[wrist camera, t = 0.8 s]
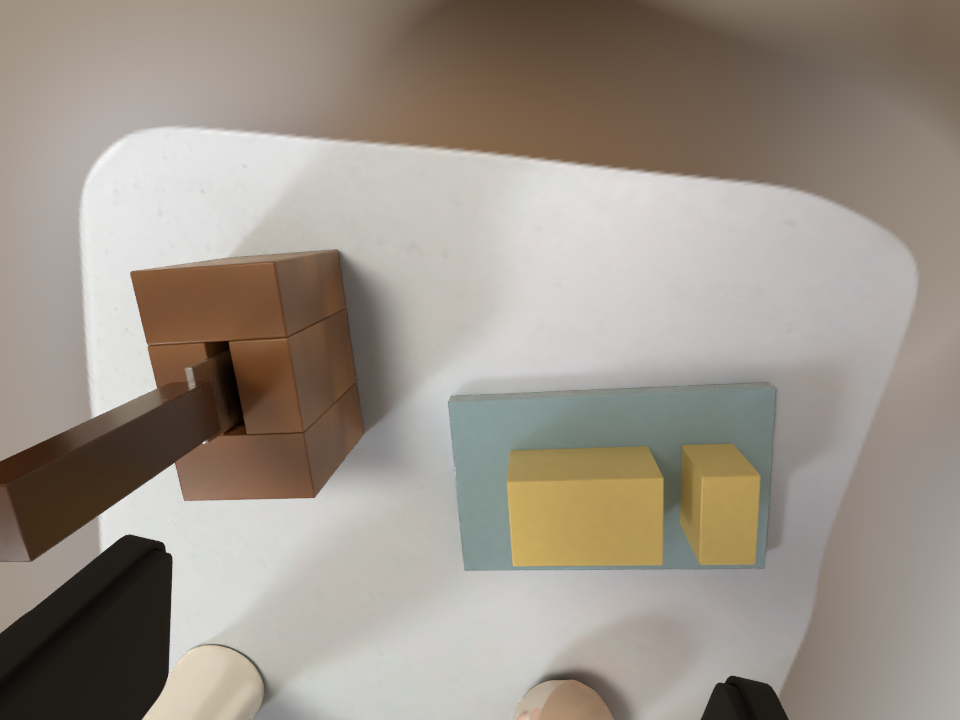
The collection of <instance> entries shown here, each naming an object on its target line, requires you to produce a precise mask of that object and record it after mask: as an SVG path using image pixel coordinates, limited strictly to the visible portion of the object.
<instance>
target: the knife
mask: <svg viewBox="0 0 960 720" xmlns="http://www.w3.org/2000/svg"><path fill="white" fill-rule="evenodd" d="M185 373H186V377H187V382H171V383H168V384H166V385H164V386H162V387H160V388H158V389H155V390H153V391H151V392H149V393H147V394H145V395H143V396H140V397H138V398H136V399H134V400H132V401H130V402H127V403H125V404H123V405H121V406H119V407H117V408H115V409H112V410H110V411H108V412H106V413H104V414H102V415H99V416H97V417H95V418H93V419H91V420H89V421H86V422H84V423H82V424H80V425H78V426H76V427H74V428H71V429H69V430H67V431H65V432H63V433H61V434H58V435H56V436H54V437H52V438H50V439H48V440H46V441H43V442H41V443H39V444H37V445H35V446H33V447H30V448H29V449H26V450H24V451H22V452H20V453H18V454H16V455H13V456H11V457H9V458H7V459H5V460H3V461H0V562H31V561H33V560H35V559H36V558H38V557H39V556H41V555H42V554H43V553H45V552H46V551H48V550H49V549H50V548H52V547H54V546H55V545H56V544H58V543H59V542H61V541H62V540H64V539H65V538H67V537H68V536H69V535H71V534H72V533H74V532H75V531H77V530H78V529H80V528H81V527H82V526H84V525H85V524H87V523H88V522H90V521H91V520H93V519H94V518H95V517H97V516H98V515H100V514H101V513H103V512H104V511H106V510H107V509H108V508H110V507H111V506H113V505H114V504H116V503H117V502H119V501H120V500H121V499H123V498H124V497H126V496H127V495H129V494H130V493H132V492H133V491H134V490H136V489H137V488H139V487H140V486H142V485H143V484H145V483H146V482H147V481H149V480H150V479H152V478H153V477H155V476H156V475H158V474H159V473H160V472H162V471H163V470H165V469H166V468H168V467H169V466H171V465H172V464H173V463H175V462H176V461H178V460H179V459H181V458H182V457H184V456H185V455H186V454H188V453H189V452H191V451H192V450H194V449H195V448H197V447H198V446H199V445H201V444H202V443H209V442H211V441H212V440H213V439H215V438H216V437H218V436H219V435H221V434H222V433H223V432H225V431H226V430H228V429H229V428H231V427H232V426H233V425H235V424H236V423H238V422H239V421H240V420H242V419H243V418H244V417H243V412H242V407H241V402H240V397H239V392H238V387H237V382H236V377H235V372H234V367H233V362H232V356H231V351H230V348H229V349H227V350H225V351H222V352H220V353H218V354H216V355H213V356H211V357H209V358H206V359H204V360H202V361H200V362H197V363H195V364H193V365H191V366H188V367H186V368H185Z"/></svg>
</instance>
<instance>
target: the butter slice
mask: <svg viewBox="0 0 960 720" xmlns="http://www.w3.org/2000/svg"><path fill="white" fill-rule="evenodd" d="M760 479H761V476H760V474H759V473H758V472H757V471H756V470H755V469H754V467H753V466H752V465H751V464H750V463H749V462H748V461H747V459H746V458H745V457H744V456H743V455H742V454H741V452H740V451H739V450H738V449H737V448H736V447H735V446H734V444H732V443H730V444H698V445H682V446H681V494H680V525H681V527H682V529H683V531H684V533H685V535H686V537H687V539H688V541H689V543H690V546H691V548H692V550H693V552H694V554H695V556H696V558H697V560H698V562H699V564H700V565H754V564H755V563H756V546H757V529H758V513H759V496H760Z"/></svg>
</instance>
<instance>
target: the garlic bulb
mask: <svg viewBox="0 0 960 720" xmlns="http://www.w3.org/2000/svg"><path fill="white" fill-rule="evenodd" d="M513 720H614V719H613V717H612V714H611V712H610V710H609V709H608V707H607V706H606V704H605V703H604V702H603V700H602V699H601V697H600V696H599V695H598V694H597V693H596V692H595V691H594V690H593V689H591V688H590V687H588V686H586V685H584V684H583V683H581V682H579V681H576V680H551V681H546V682H543V683H540V684H538V685H537V686H535V687H533V688H532V689H531V690H530V691H528V692H527V693H526V694H525V696H524V697H523V698H522V699H521V701H520V703H519V704H518V706H517V708H516V711H515V714H514V717H513Z"/></svg>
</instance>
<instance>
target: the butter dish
mask: <svg viewBox="0 0 960 720" xmlns="http://www.w3.org/2000/svg"><path fill="white" fill-rule="evenodd" d="M775 401H776V388H775V387H774V386H772V385H771V384H769V383H768V382H765V383H742V384H719V385H695V386H672V387H649V388H626V389H603V390H579V391H556V392H533V393H510V394H487V395H463V396H451V397H450V399H449V402H448V407H449V417H450V427H451V437H452V448H453V458H454V468H455V479H456V489H457V499H458V510H459V520H460V530H461V540H462V551H463V561H464V570H465V571H477V570H627V569H764V568H765V555H766V539H767V524H768V509H769V493H770V478H771V462H772V447H773V431H774V416H775ZM730 443H732V444H734V446H735V447H736V448H737V449H738V450H739V451H740V452H741V454H742V455H743V456H744V457H745V458H746V459H747V461H748V462H749V463H750V464H751V465H752V466H753V467H754V469H755V470H756V471H757V472H758V473H759V474H760V476H761V479H760V496H759V513H758V529H757V546H756V563H755V564H754V565H700V564H699V562H698V560H697V558H696V556H695V554H694V552H693V550H692V548H691V546H690V543H689V541H688V539H687V537H686V535H685V533H684V531H683V529H682V527H681V525H680V494H681V446H682V445H698V444H730ZM633 446H648V448H649V450H650V452H651V454H652V456H653V458H654V460H655V462H656V464H657V466H658V468H659V470H660V472H661V474H662V476H663V478H664V515H663V565H635V566H513V564H512V550H511V536H510V522H509V508H508V494H507V475H508V465H509V454H510V451H511V450H537V449H569V448H601V447H633Z"/></svg>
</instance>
